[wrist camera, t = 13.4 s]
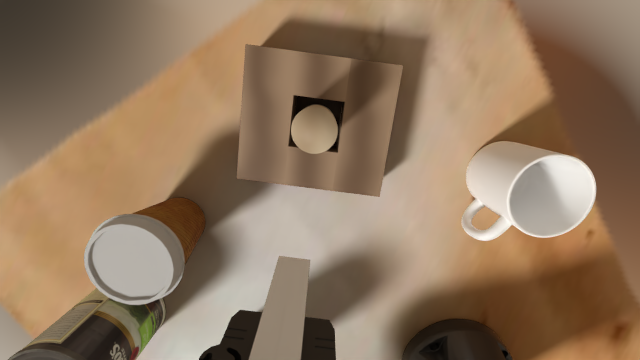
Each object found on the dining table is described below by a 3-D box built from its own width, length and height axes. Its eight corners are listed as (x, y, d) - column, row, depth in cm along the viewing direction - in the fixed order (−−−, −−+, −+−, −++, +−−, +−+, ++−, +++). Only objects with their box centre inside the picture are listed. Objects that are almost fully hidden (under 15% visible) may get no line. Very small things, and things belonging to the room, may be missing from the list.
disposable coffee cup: (136, 236, 44) (68, 286, 32) (158, 173, 42) (93, 202, 30) (203, 264, 45) (160, 323, 33) (228, 203, 43) (192, 244, 31)
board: (393, 69, 38) (403, 65, 33) (373, 185, 42) (379, 196, 37) (255, 50, 38) (245, 44, 33) (246, 168, 41) (236, 178, 36)
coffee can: (170, 283, 46) (104, 363, 32) (161, 344, 48) (96, 442, 34) (96, 266, 45) (-4, 340, 31) (90, 328, 48) (-5, 422, 34)
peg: (336, 105, 39) (341, 109, 28) (331, 139, 40) (334, 157, 29) (302, 101, 39) (293, 103, 28) (298, 135, 40) (288, 151, 29)
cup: (545, 171, 41) (614, 194, 31) (471, 237, 43) (514, 278, 33) (501, 125, 40) (559, 135, 30) (428, 196, 42) (459, 227, 32)
